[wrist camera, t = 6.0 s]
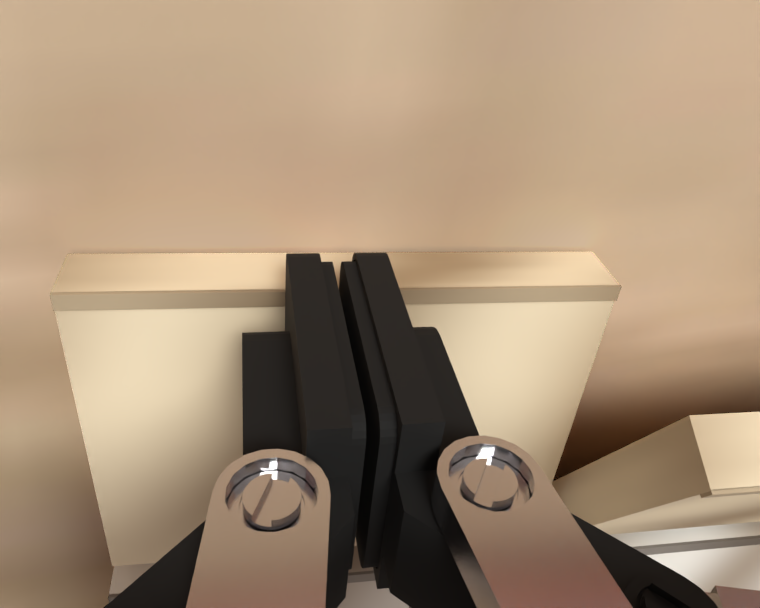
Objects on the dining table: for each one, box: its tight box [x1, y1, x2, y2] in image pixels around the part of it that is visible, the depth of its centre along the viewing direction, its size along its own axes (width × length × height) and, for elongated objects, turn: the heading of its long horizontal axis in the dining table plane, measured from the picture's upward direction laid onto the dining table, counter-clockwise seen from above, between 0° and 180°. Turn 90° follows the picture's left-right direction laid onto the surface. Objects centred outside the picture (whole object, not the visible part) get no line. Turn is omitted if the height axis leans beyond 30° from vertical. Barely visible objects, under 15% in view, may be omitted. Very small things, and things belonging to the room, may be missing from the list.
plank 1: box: [50, 252, 621, 566], centre depth 14 cm, size 10×7×1 cm
